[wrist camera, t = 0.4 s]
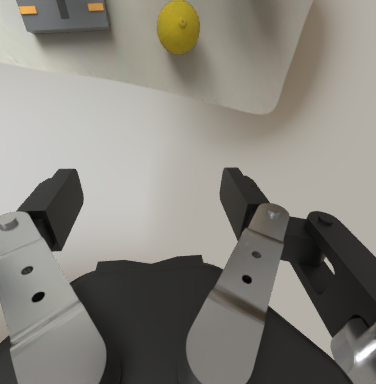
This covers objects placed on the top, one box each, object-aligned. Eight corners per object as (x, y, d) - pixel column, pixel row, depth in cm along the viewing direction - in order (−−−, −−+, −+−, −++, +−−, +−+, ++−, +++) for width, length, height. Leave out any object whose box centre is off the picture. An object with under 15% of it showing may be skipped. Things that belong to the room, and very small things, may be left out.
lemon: (199, 25, 31) (214, 9, 24) (183, 64, 33) (192, 60, 26) (165, 1, 30) (170, -23, 23) (149, 43, 31) (150, 34, 24)
